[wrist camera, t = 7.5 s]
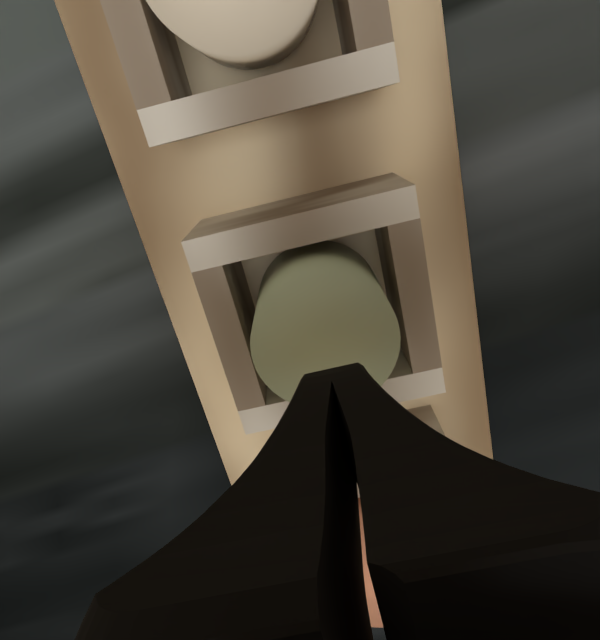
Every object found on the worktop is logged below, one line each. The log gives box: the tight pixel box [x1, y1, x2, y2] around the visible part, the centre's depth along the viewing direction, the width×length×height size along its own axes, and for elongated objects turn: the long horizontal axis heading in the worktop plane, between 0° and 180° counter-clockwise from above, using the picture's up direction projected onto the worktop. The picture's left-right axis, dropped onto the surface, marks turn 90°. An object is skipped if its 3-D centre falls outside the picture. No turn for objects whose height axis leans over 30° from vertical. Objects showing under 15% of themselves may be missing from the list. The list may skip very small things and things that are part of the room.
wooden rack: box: [54, 0, 493, 498], centre depth 18 cm, size 12×28×4 cm, turn 13°
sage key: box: [250, 240, 401, 402], centre depth 16 cm, size 4×4×4 cm
